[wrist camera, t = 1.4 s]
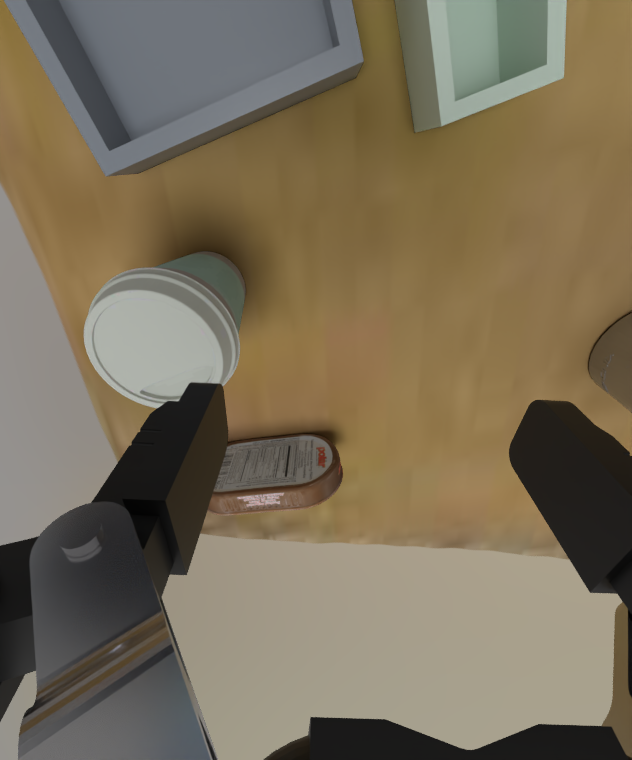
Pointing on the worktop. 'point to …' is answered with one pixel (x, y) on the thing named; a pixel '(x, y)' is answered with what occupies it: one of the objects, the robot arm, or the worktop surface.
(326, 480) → the tin
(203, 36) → the large crate
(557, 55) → the small crate
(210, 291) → the coffee cup
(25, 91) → the worktop surface
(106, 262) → the worktop surface
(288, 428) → the worktop surface
